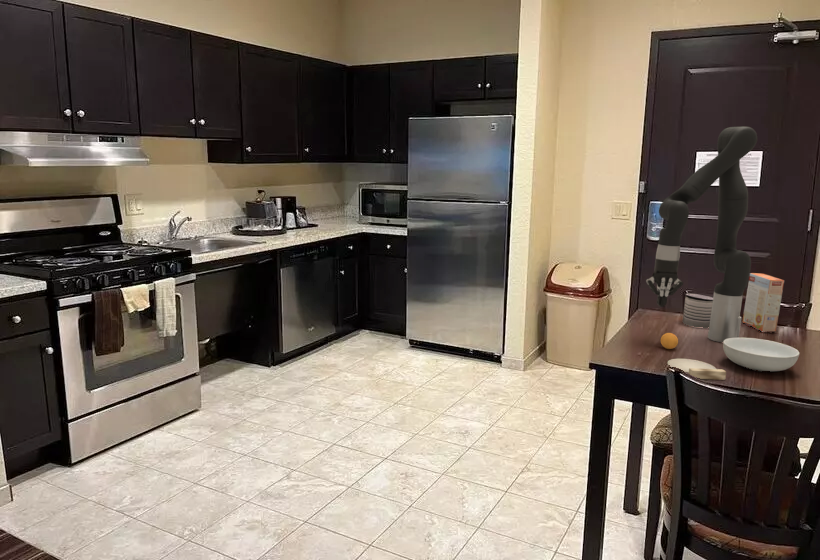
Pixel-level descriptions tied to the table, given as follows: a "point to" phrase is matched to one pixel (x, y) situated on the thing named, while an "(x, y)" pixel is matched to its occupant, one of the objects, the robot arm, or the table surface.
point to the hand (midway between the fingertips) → (661, 306)
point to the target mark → (689, 364)
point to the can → (697, 310)
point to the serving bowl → (760, 354)
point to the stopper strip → (708, 373)
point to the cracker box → (763, 301)
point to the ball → (669, 341)
